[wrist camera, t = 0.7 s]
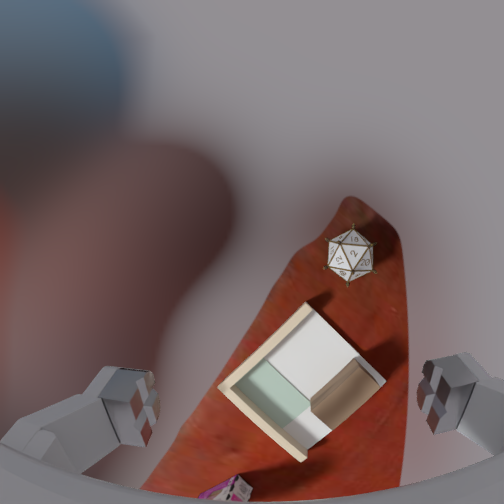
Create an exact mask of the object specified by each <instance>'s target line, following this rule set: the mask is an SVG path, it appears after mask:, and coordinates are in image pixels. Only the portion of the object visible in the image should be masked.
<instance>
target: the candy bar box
mask: <svg viewBox="0 0 504 504" xmlns="http://www.w3.org/2000/svg"><path fill="white" fill-rule="evenodd" d="M252 490H253V488H252V487H251V486H250V485H249V484H248V483H247V482H246V481H245V480H244V479H243V478H242V477H240V476H239V475H238V474H237V475H235V476H233V477H232V478H230V479H228V480H226V481H224V482H223V483H221V484H219V485H217V486H215V487H213V488H211V489H209V490H207V491H205V492H203V493H201V494H200V495H199V496H198V499H208V500H221V501H239V502H248V501H249V499H250V496H251V493H252Z"/></svg>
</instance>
